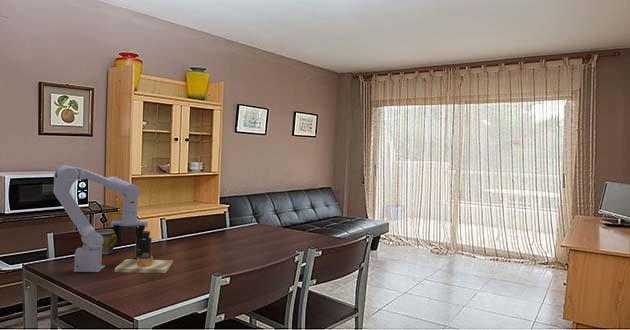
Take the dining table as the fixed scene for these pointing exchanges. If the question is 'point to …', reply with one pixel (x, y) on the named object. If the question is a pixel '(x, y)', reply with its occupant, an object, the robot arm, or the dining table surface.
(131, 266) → the piston block
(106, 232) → the ceramic cup
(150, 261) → the wooden ring
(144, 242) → the supplement bottle
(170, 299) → the dining table surface
